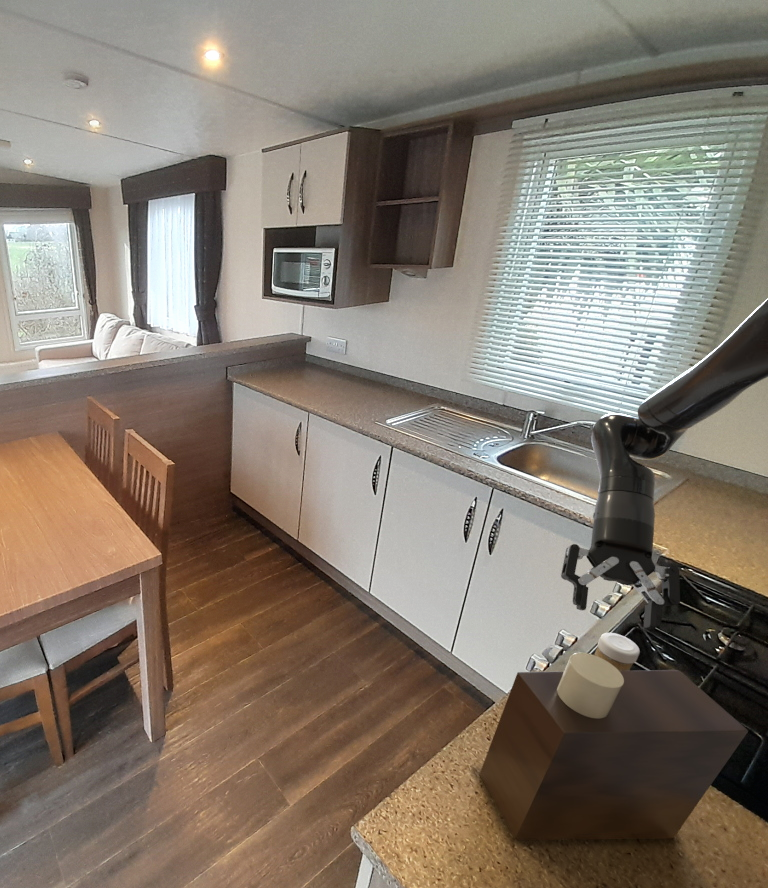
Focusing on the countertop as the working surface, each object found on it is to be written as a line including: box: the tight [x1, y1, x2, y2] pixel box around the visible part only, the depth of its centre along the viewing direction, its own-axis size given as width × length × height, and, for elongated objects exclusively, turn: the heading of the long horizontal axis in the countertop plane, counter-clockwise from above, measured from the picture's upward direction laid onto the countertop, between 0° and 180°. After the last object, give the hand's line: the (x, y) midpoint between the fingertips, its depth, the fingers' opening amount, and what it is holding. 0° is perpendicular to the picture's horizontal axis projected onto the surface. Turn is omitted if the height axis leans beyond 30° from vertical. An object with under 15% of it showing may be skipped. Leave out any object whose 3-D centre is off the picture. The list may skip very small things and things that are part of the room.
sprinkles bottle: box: [593, 632, 641, 671], centre depth 75 cm, size 5×5×14 cm
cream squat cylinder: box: [557, 652, 624, 719], centre depth 55 cm, size 5×5×5 cm
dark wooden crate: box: [478, 669, 749, 841], centre depth 60 cm, size 20×8×21 cm, turn 90°
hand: (614, 618), depth 76 cm, fingers open, 8 cm apart
